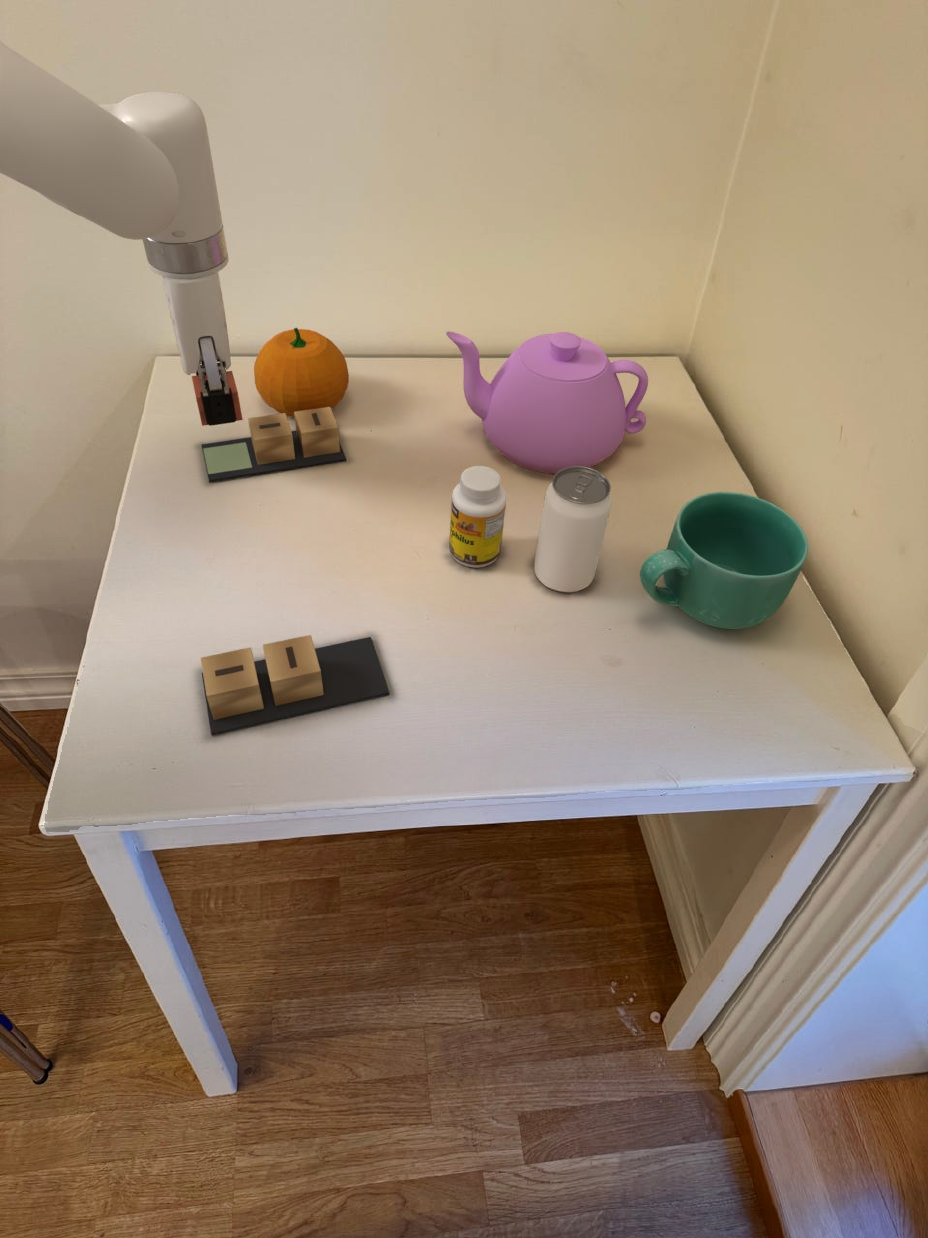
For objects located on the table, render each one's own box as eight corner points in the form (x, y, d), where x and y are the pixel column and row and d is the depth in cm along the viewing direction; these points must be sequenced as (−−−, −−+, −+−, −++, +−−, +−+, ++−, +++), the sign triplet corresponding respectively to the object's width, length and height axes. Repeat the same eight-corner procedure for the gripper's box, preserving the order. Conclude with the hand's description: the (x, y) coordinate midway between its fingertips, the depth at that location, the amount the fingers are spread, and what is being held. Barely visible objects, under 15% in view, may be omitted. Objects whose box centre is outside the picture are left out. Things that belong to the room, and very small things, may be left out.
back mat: (209, 482, 95) (208, 479, 95) (202, 446, 99) (201, 443, 99) (346, 461, 99) (346, 457, 98) (333, 427, 103) (333, 424, 103)
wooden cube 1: (213, 720, 73) (206, 695, 70) (207, 682, 76) (200, 656, 73) (264, 709, 74) (258, 684, 71) (256, 671, 77) (250, 646, 74)
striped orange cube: (202, 426, 91) (195, 397, 88) (197, 403, 94) (191, 375, 91) (242, 420, 92) (237, 391, 89) (237, 398, 95) (231, 369, 92)
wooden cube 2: (275, 706, 74) (270, 681, 71) (267, 669, 77) (262, 643, 74) (324, 695, 75) (320, 670, 72) (314, 659, 78) (310, 633, 75)
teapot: (632, 403, 110) (655, 305, 100) (648, 487, 98) (676, 387, 88) (445, 392, 110) (448, 293, 100) (439, 476, 98) (442, 373, 88)
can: (524, 583, 87) (538, 493, 78) (544, 545, 91) (560, 456, 82) (583, 602, 85) (604, 514, 76) (601, 563, 89) (623, 474, 80)
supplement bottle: (438, 547, 90) (441, 472, 82) (479, 528, 92) (485, 453, 84) (469, 577, 87) (475, 502, 79) (510, 557, 89) (520, 482, 82)
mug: (739, 549, 92) (767, 482, 85) (799, 632, 84) (835, 566, 77) (602, 574, 88) (618, 505, 81) (651, 663, 80) (675, 596, 73)
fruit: (238, 405, 105) (225, 333, 98) (299, 366, 112) (292, 295, 105) (309, 439, 101) (302, 366, 94) (368, 396, 108) (365, 325, 101)
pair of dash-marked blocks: (257, 465, 97) (253, 439, 94) (252, 443, 100) (247, 417, 97) (340, 452, 99) (338, 426, 97) (332, 431, 102) (330, 405, 99)
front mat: (211, 736, 72) (211, 733, 72) (202, 675, 77) (201, 672, 76) (389, 694, 76) (389, 692, 76) (370, 639, 80) (370, 636, 80)
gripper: (138, 212, 83) (176, 373, 97) (152, 292, 73) (192, 459, 86) (214, 206, 85) (241, 365, 99) (238, 283, 75) (265, 448, 88)
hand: (218, 407), depth 92 cm, fingers closed on striped orange cube, 4 cm apart
